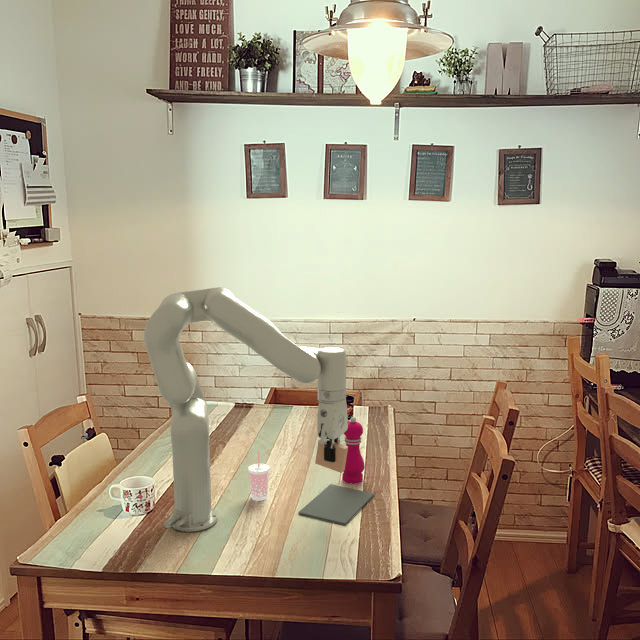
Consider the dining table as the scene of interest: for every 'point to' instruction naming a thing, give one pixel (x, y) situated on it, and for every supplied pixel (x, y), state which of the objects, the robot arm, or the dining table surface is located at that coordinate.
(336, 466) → the tile
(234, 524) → the dining table surface
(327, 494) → the mat
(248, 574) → the dining table surface
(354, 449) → the pepper mill
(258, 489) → the beverage cup
